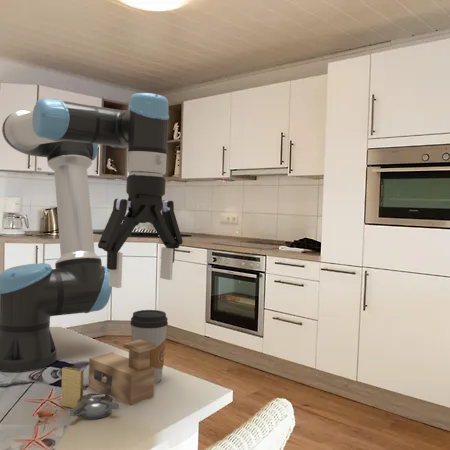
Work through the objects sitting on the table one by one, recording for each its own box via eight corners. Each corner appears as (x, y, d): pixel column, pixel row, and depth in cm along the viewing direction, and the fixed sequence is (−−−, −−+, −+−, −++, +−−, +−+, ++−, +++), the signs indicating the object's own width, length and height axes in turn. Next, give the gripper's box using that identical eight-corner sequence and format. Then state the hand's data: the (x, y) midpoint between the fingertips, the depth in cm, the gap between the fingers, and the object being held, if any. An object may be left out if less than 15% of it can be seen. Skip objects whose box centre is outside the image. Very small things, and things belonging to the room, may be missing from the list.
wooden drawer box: (84, 387, 101) (85, 337, 100) (112, 378, 106) (113, 330, 106) (126, 407, 92) (127, 352, 92) (154, 396, 98) (156, 344, 97)
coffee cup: (158, 388, 102) (161, 319, 101) (122, 384, 103) (124, 316, 103) (171, 375, 110) (173, 311, 109) (137, 371, 112) (139, 308, 111)
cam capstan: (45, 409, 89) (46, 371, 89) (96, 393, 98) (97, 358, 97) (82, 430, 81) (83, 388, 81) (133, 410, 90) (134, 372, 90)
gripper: (107, 170, 81) (103, 294, 82) (202, 179, 101) (197, 278, 102) (80, 170, 85) (76, 287, 87) (176, 178, 105) (171, 273, 106)
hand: (141, 282), depth 94 cm, fingers open, 13 cm apart
